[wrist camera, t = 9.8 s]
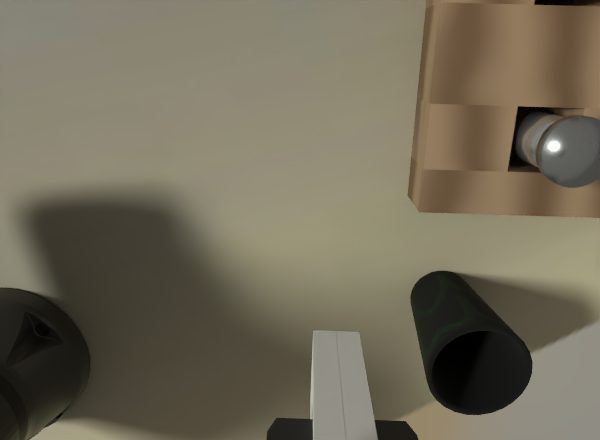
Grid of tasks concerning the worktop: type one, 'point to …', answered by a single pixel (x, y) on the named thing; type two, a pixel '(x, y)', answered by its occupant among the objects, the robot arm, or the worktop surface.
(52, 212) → the worktop surface
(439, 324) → the cup
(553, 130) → the grey plug
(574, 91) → the block
